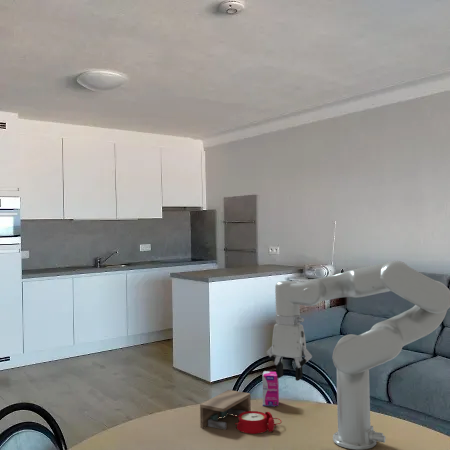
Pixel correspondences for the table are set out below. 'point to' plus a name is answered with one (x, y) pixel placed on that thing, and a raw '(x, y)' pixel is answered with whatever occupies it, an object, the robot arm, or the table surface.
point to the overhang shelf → (223, 408)
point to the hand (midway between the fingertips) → (289, 377)
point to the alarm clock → (255, 422)
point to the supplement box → (270, 389)
